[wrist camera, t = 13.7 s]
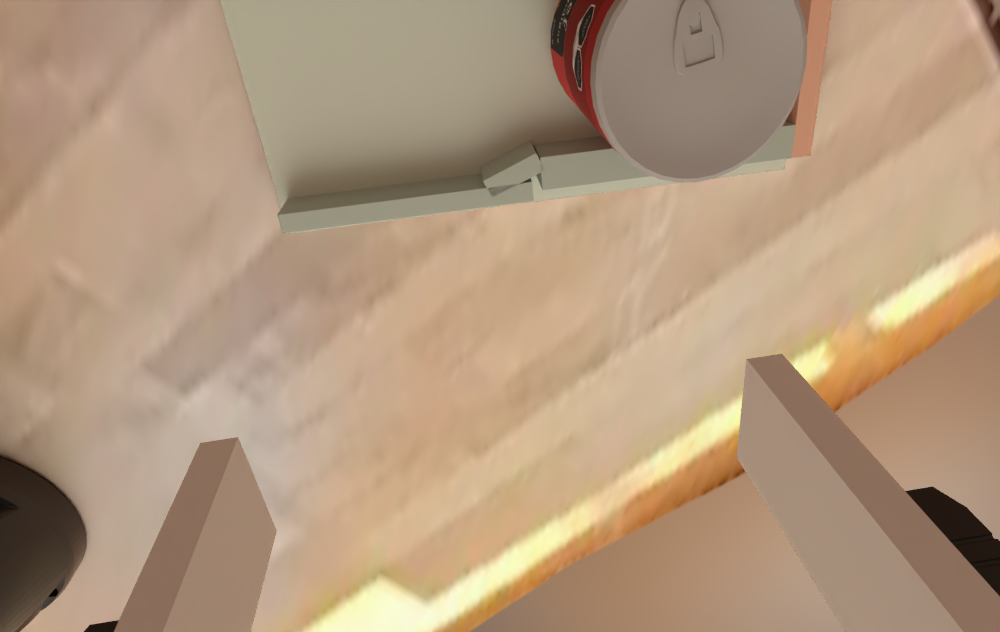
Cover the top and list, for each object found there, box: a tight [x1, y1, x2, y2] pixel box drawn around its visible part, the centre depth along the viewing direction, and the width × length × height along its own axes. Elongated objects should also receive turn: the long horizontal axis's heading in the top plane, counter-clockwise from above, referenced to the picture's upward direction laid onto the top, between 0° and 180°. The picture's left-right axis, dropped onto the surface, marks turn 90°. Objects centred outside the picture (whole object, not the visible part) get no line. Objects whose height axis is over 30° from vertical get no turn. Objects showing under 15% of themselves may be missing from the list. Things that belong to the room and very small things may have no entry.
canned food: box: [551, 0, 807, 183], centre depth 27 cm, size 8×8×11 cm
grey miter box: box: [220, 0, 832, 234], centre depth 31 cm, size 28×16×4 cm, turn 96°
